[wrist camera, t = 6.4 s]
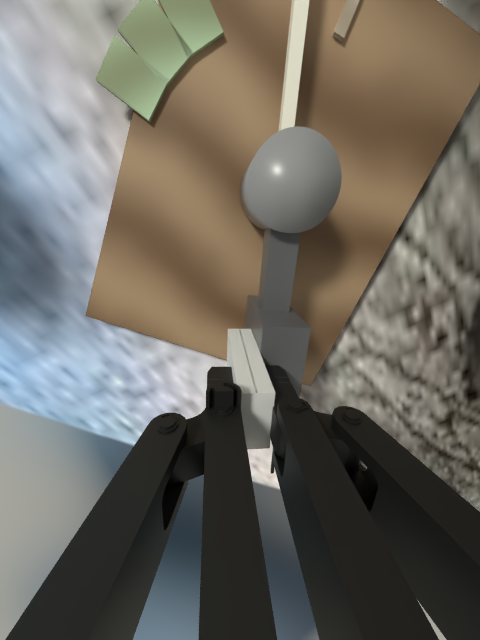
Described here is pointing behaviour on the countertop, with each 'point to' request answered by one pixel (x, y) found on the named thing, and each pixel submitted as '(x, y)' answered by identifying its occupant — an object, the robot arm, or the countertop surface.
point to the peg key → (287, 213)
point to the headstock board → (245, 140)
